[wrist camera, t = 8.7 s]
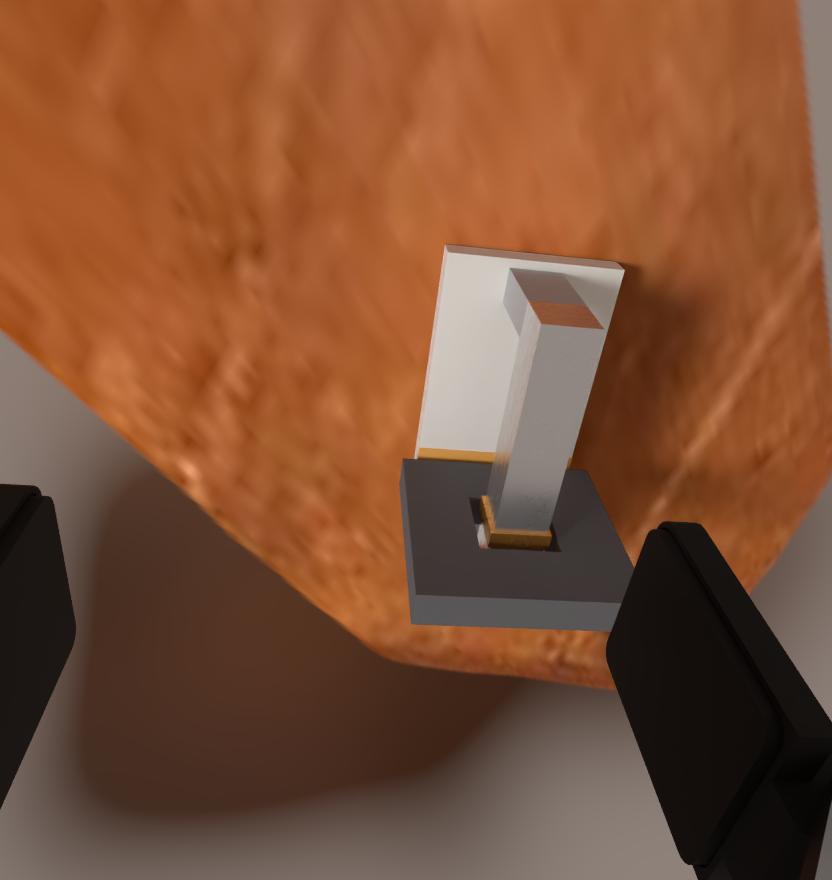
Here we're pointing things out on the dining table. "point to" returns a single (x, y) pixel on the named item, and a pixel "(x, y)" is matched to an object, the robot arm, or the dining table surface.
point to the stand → (494, 340)
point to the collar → (507, 556)
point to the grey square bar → (539, 424)
